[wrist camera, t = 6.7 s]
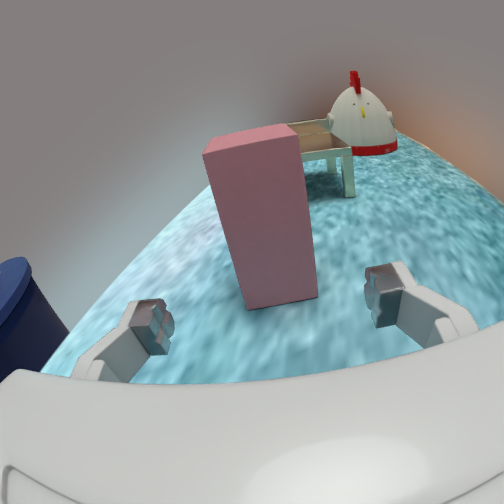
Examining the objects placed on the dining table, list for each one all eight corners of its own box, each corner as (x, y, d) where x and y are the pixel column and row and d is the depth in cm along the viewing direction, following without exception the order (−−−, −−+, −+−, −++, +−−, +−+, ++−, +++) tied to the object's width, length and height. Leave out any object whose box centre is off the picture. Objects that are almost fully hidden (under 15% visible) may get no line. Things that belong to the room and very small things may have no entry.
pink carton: (247, 310, 20) (201, 153, 14) (246, 268, 24) (211, 138, 18) (318, 297, 19) (297, 133, 14) (305, 257, 24) (284, 123, 18)
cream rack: (236, 216, 33) (219, 150, 29) (241, 184, 42) (229, 133, 38) (355, 196, 31) (349, 129, 27) (333, 169, 41) (326, 117, 36)
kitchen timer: (329, 157, 46) (315, 72, 38) (326, 141, 57) (315, 74, 49) (405, 154, 42) (398, 69, 34) (388, 137, 53) (380, 71, 45)
